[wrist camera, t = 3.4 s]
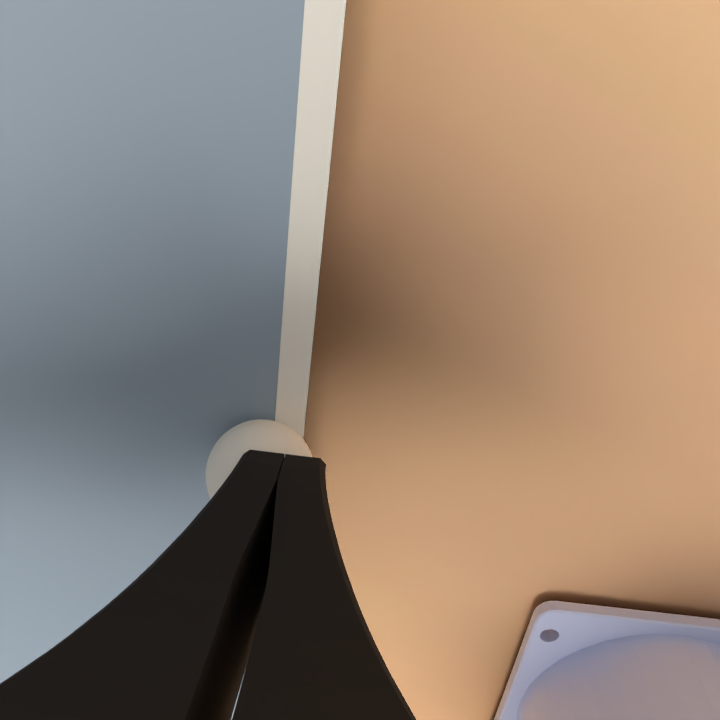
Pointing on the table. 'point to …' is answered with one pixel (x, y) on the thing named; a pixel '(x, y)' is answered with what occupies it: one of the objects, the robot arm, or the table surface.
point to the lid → (148, 277)
